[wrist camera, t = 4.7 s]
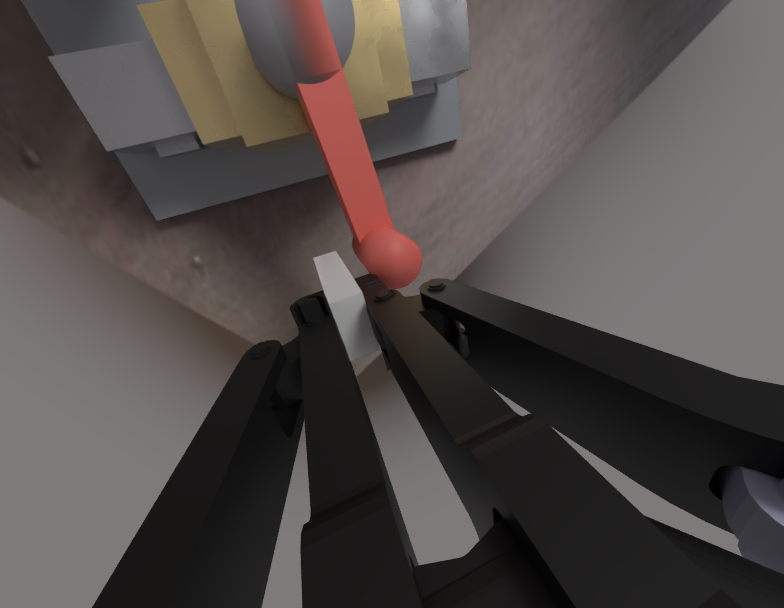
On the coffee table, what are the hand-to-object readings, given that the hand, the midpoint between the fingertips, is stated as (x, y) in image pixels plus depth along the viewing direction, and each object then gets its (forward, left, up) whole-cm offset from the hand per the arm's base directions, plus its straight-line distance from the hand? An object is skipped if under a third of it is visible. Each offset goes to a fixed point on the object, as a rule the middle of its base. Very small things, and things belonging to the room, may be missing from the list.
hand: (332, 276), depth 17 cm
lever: (-2, -6, -2) cm, 7 cm away
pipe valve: (-2, -11, -11) cm, 15 cm away
